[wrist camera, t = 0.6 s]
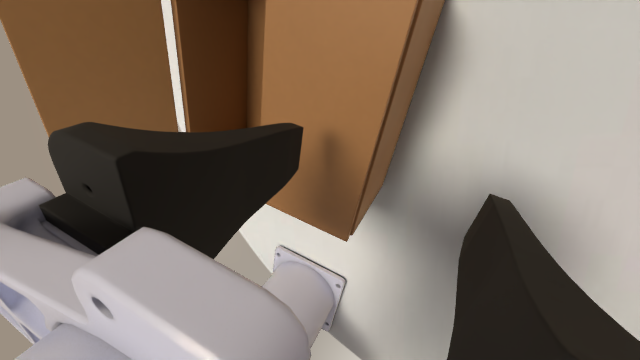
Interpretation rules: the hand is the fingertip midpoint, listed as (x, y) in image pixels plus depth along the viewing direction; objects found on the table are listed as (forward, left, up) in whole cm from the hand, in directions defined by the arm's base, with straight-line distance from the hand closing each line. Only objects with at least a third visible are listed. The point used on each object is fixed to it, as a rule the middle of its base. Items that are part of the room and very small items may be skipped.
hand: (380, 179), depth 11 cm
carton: (0, +7, -10) cm, 12 cm away
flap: (0, +15, 0) cm, 15 cm away
